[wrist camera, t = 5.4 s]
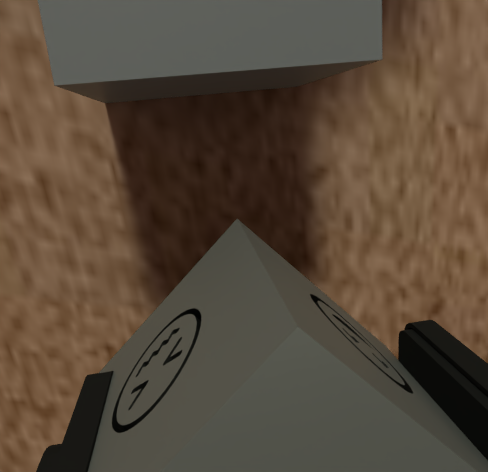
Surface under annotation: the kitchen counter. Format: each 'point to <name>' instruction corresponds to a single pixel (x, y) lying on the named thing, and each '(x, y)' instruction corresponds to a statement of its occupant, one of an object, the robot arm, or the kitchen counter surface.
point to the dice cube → (266, 382)
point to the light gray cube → (204, 44)
